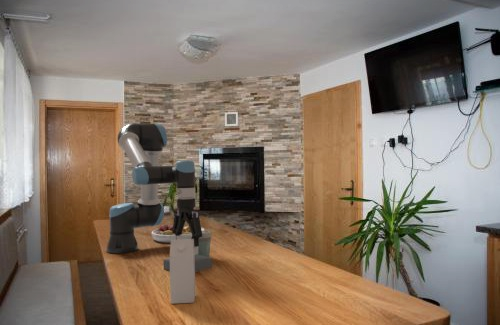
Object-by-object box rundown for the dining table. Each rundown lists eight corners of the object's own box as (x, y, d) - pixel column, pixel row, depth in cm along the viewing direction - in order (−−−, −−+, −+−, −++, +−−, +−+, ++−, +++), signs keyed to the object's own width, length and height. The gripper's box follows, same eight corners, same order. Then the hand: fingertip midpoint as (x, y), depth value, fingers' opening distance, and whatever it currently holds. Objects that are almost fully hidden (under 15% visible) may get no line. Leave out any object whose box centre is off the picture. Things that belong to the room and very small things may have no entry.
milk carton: (173, 296, 125) (171, 238, 125) (195, 295, 126) (194, 237, 126) (170, 304, 118) (169, 242, 118) (194, 303, 119) (192, 241, 119)
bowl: (215, 236, 227) (214, 223, 228) (180, 246, 202) (179, 231, 202) (177, 232, 244) (177, 220, 244) (140, 241, 218) (140, 227, 218)
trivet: (163, 269, 158) (163, 258, 158) (190, 262, 168) (190, 252, 168) (184, 275, 149) (184, 264, 149) (211, 267, 159) (211, 257, 159)
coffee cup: (208, 261, 169) (208, 234, 169) (190, 261, 170) (189, 233, 170) (214, 256, 177) (213, 230, 177) (196, 256, 179) (196, 230, 179)
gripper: (162, 197, 163) (164, 250, 163) (196, 200, 148) (197, 258, 148) (177, 196, 169) (178, 247, 169) (210, 198, 154) (212, 254, 154)
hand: (187, 252), depth 159 cm, fingers closed on cocoa, 9 cm apart
